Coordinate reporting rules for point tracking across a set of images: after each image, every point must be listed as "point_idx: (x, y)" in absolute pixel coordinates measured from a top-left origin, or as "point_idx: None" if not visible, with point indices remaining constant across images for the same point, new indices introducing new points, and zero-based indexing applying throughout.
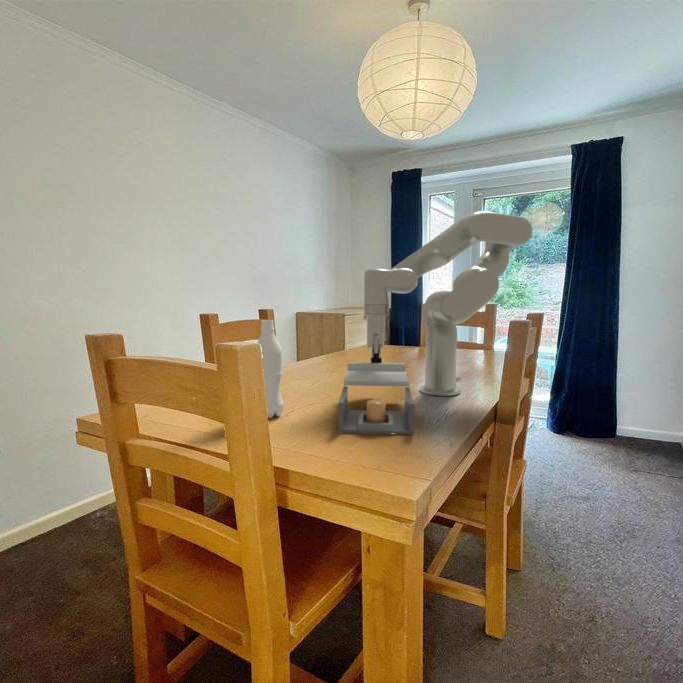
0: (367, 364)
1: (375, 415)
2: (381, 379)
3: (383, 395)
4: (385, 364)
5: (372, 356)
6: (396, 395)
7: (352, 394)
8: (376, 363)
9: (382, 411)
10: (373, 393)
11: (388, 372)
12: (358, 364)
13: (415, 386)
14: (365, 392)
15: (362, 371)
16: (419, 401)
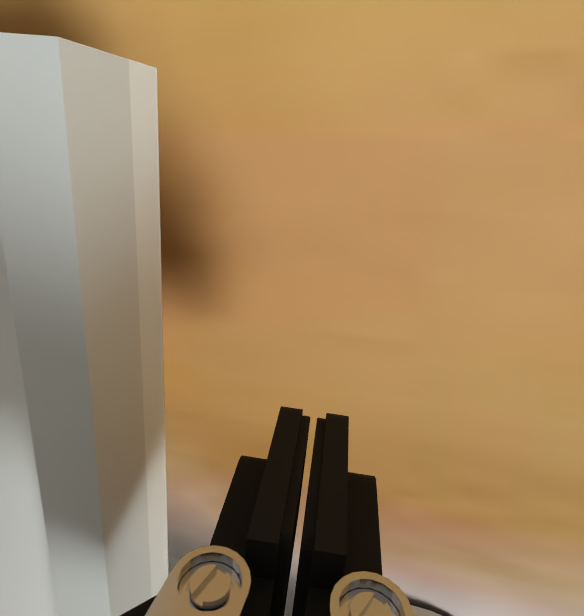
0: (39, 405)
1: None
2: None
3: (306, 380)
4: (64, 609)
5: (169, 584)
6: None
7: (347, 140)
8: (64, 530)
9: None
10: (367, 319)
11: (14, 548)
12: (18, 264)
13: (531, 607)
14: (405, 260)
15: (3, 290)
16: (175, 540)
